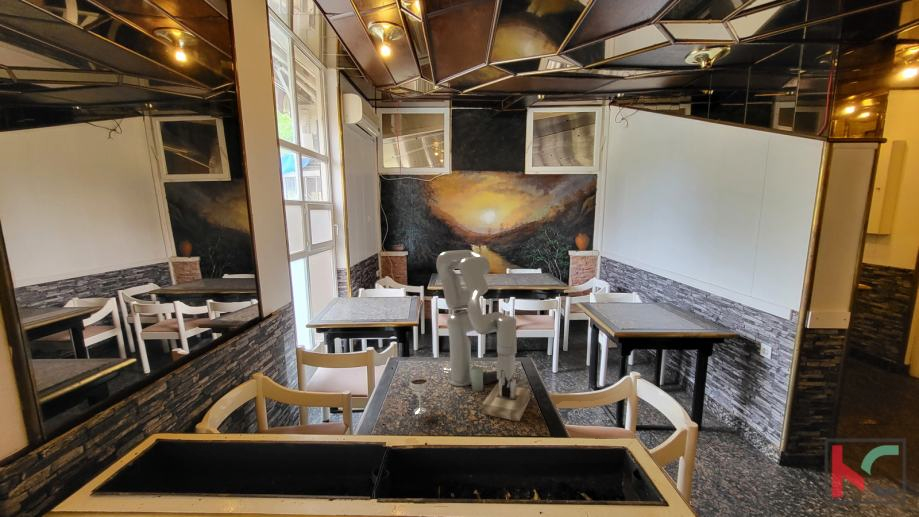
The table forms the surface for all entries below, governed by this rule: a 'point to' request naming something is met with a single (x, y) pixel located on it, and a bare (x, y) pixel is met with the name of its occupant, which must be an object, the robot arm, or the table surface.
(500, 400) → the socket block
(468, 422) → the table surface
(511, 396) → the block
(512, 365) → the robot arm
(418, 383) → the wineglass
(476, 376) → the round bit
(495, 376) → the flashlight
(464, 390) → the table surface
